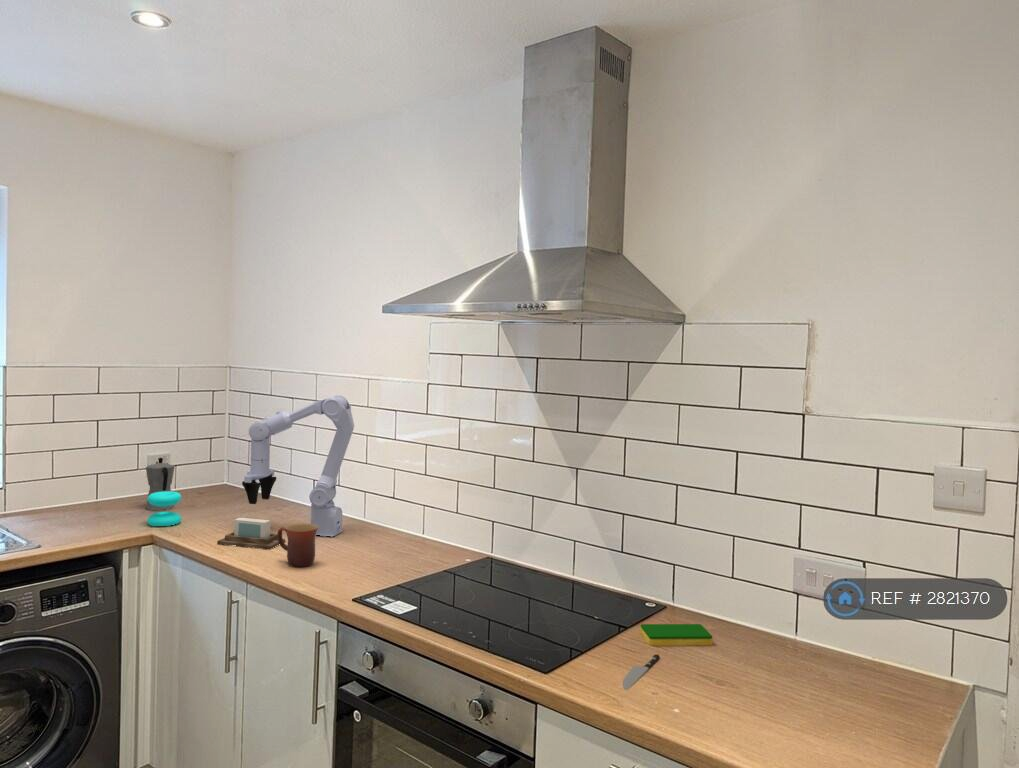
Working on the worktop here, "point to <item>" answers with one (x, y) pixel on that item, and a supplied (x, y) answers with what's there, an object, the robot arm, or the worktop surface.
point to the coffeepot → (159, 481)
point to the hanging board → (250, 541)
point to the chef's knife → (637, 673)
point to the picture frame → (252, 528)
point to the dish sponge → (675, 634)
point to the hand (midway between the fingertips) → (259, 501)
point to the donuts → (166, 516)
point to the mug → (299, 543)
